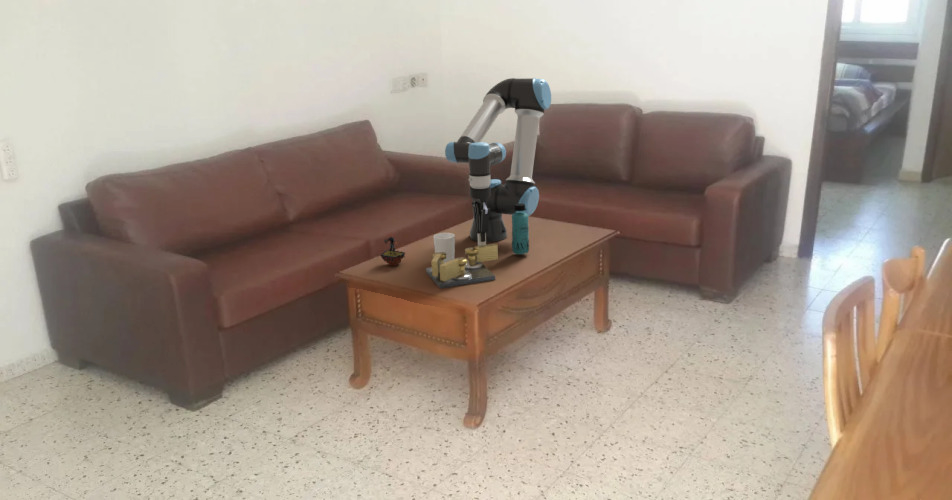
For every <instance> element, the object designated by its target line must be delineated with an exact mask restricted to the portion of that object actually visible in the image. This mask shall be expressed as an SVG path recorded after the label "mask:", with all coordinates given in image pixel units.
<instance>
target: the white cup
mask: <svg viewBox="0 0 952 500" xmlns="http://www.w3.org/2000/svg"><path fill="white" fill-rule="evenodd" d="M455 236H456V235H455V234H454V233H453V232H439V233H436V234H434V235H433V243H434V246H433V247H434V253H436V252H444V253H446V259H444V260H443V261H444V263H446V262H448V261H451V260H453V259H455V252H456V251H455V250H456V249H455V248H456V245H455V244H456V240H455V238H456V237H455Z"/></svg>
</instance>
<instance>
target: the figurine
mask: <svg viewBox="0 0 952 500" xmlns="http://www.w3.org/2000/svg"><path fill="white" fill-rule="evenodd" d="M389 241H390V243H389V249H388V250H384V251H383V252H382V253H381V254H380V257H381V259H382V260H383V261H384V262H385V263H387V264H388V265H389V266H391V267H395V266H397V265H399V264H401V262H402V260H403V259H404V258H405V255H406V252H405V251H399V250H396V248H395V244H396V246H397V247H400V245H399V244H398V243H397V241H396V240H395V237H394V236H393V234H390V236H389V237H388V238H387V239H384V240H383V242H384V245H385V244H386V245H387V243H388V242H389Z"/></svg>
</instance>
